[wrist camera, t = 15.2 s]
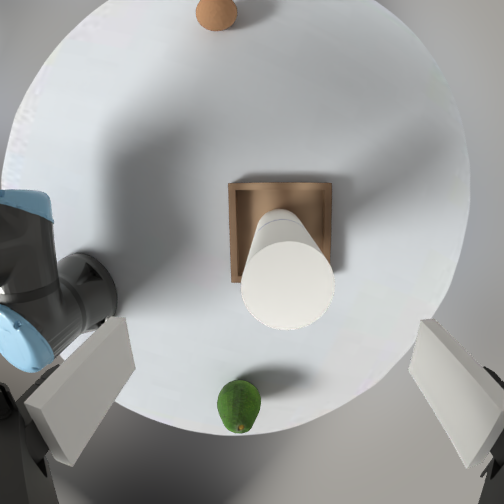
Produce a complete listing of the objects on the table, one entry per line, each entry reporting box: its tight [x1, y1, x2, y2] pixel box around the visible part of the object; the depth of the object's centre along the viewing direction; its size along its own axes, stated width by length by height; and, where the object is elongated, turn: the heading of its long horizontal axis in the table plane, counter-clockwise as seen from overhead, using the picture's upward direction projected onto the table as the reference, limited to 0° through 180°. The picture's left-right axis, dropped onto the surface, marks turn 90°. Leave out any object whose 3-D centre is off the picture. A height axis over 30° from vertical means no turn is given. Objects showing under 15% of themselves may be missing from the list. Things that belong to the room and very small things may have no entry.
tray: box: [228, 182, 332, 283], centre depth 47 cm, size 15×15×3 cm
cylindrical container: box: [241, 209, 335, 330], centre depth 35 cm, size 7×7×25 cm
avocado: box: [217, 380, 261, 433], centre depth 50 cm, size 8×8×12 cm
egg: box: [196, 0, 237, 31], centre depth 36 cm, size 6×6×8 cm
